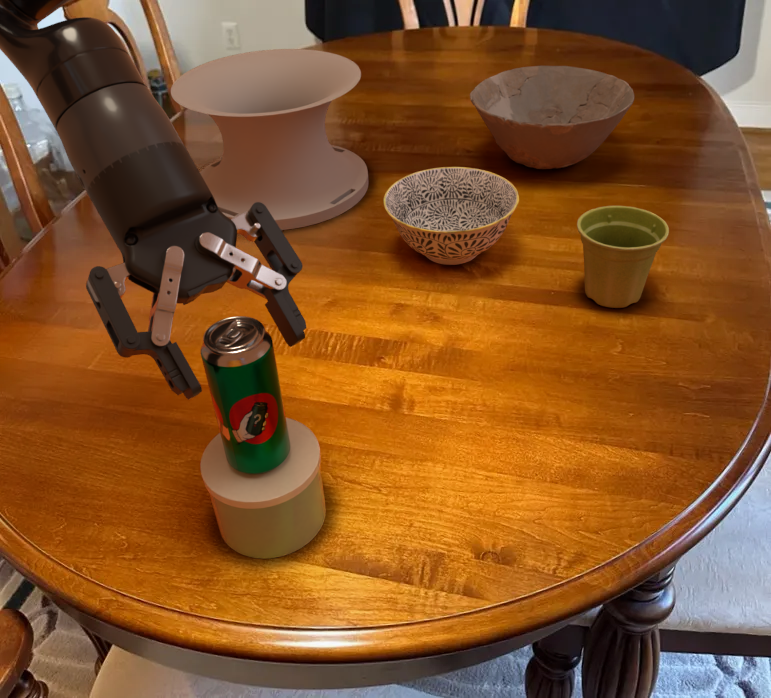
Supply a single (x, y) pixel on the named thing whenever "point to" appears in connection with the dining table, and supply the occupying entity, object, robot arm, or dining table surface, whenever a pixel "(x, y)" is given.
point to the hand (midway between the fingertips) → (248, 367)
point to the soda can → (246, 394)
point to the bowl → (451, 211)
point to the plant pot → (619, 252)
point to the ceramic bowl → (551, 112)
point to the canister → (268, 498)
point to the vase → (277, 133)
